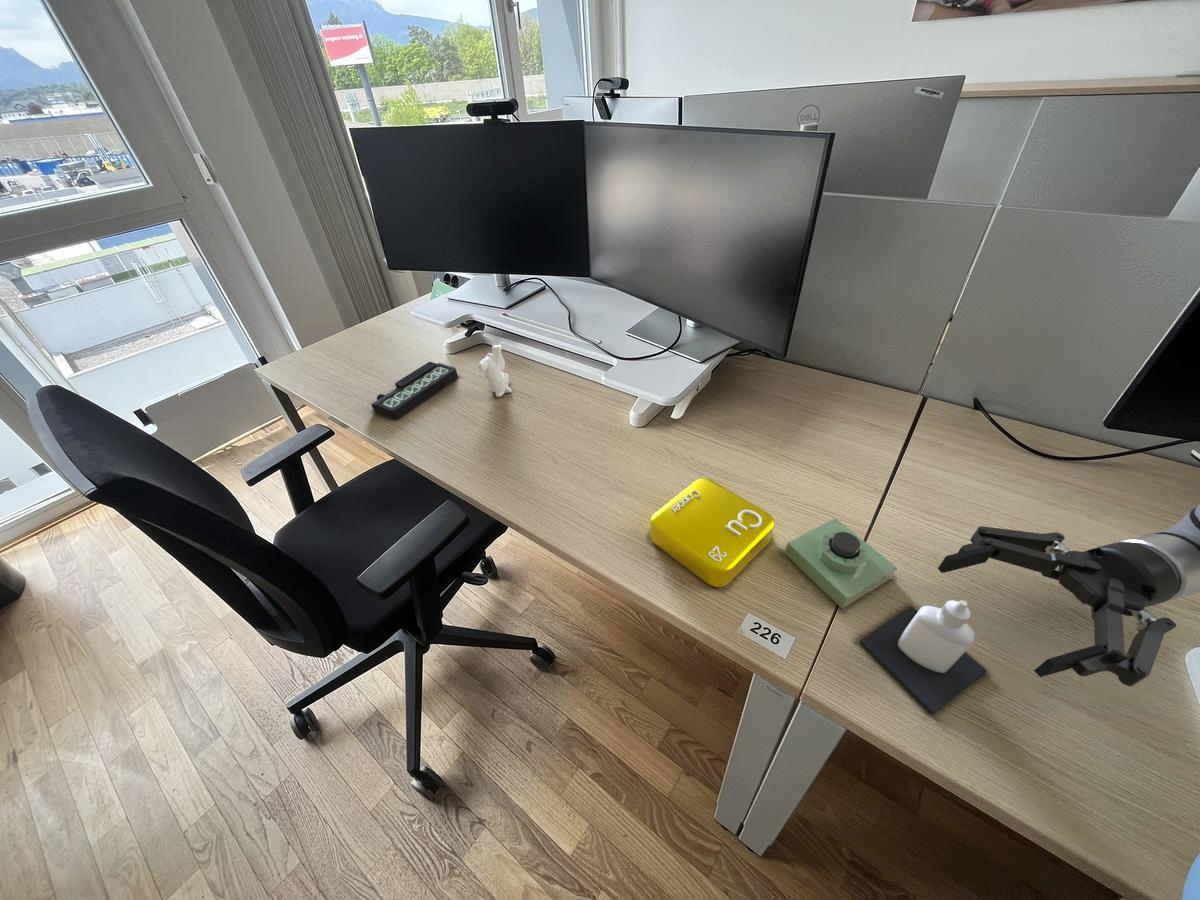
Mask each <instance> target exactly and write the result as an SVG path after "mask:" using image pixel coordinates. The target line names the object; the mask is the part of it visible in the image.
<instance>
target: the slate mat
mask: <svg viewBox="0 0 1200 900" xmlns="http://www.w3.org/2000/svg"><path fill="white" fill-rule="evenodd" d="M917 612H918V610H917V609H915V608H914V607H913V606H910V607H909V608H907V609H906V610H904V611H903V612H901V613H900V614H898V615H896V616H894V618H892V619H890V620H889V621H888V622H886V623H884V624H883V625H881V626H880V627H879V628H877V629H876V630H874V631H872V632H870V633H869V634H868V635H866V636H865V637H863V638H862V639H860V640H859V644H860V645H861V646H862V647H863V648H864V649H865V650H866V651H867V652H868V653H869V654H870V655H871V656H872V657H873V658H874V659H875V660H876V661H877V662H878V663H879V664H880V665H881V666H882V667H883V668H884V669H885V670H886V671H887V672H888V673H889V674H890V675H891V676H892V677H893V678H894V679H895V680H896V681H897V682H898V683H899V684H900V685H901V686H902V687H903V688H905V690H906V691H907V692H908V693H909V694H910V695H911V696H912V697H914V699H916V701H917V702H918V703H920V705H921V706H922V707H924V708H925V709H926V711H928V712H929V713H930V715H933V714H935V712H937V711H938V710H939V709H940V708H942V707H943V706H944V705H946V704H947V703H948V702H950V701H951V700H952V699H953V698H955V697H956V696H958V694H960V693H961V692H963V691H964V690H965V689H966V688H967V687H969V686H970V685H971V684H972V683H974V682H975V681H976V680H978V679H979V678H980V677H982V676H983V675H984V674H986V673H987V671H988V670H987V669H986V668H985V667H984V666H983V665H981V664H980V663H979V662H978V661H976V660H975V659H974V658H973V657H972V656H971V655H970V654H968V653H967V652H966V651H965V652H964V653H963V654H962V656H961V657H960V658H959V659H958V660H957V661H956V662H955V663H954V664H953V665H952V666H951V667H950V669H949V670H948V671H946V672H945V673H940V672H936V671H933V670H930V669H928V668H925V667H923V666H921V665H920V664H918V663H916V662H915V661H913V660H912V659H911V658H909V657H908V656H907V655H906V654H905V653H904V652H903V651H902V650H901V649H900V648H899V646H898V641H899V639H900V637H901V635H902V633H903V632H904V630H905V629H906V628H907V626H908V625H909V623H910V622H911V620H912V619H913V618H914V616H915V615H916V614H917Z"/></svg>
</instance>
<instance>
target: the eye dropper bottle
mask: <svg viewBox="0 0 1200 900" xmlns="http://www.w3.org/2000/svg"><path fill="white" fill-rule="evenodd" d="M971 615H972V614H971V610H970V609H969V607H968V601H966V600H964V599H960V600H953V599H951V600H948V601H946V602H945V603H944V605H943V606H942V607H937V606H932V605H923V606H922V607H920V608H919V610H917V614H916V615H915V616H914V618H913V619H912V620H911V622H910V623H909V625H908V626H907V628H906V629H905V630H904V632H903V633H902V635H901V637H900V639H899V641H898V646H899V648H900V649H901V650H902V651H903V652H904V653H905V654H906V655H907V656H908V657H909V658H911V659H912V660H913V661H915V662H916V663H918V664H920V665H921V666H923V667H925V668H928V669H930V670H933V671H936V672H940V673H945V672H946V671H948V670H949V669H950V667H951V666H952V665H953V664H954V663H955V662H956V661H957V660H958V659H959V658H960V657H961V656H962V654H963V653H964V652H966V651H967V650H968V649H969V648H970V647H971V645H972V643H973V642H974V639H975V631H974V630H973V629H972V628H971V626H970V625H969V624H967V623H966V622H968V620H969V619H970V618H971Z"/></svg>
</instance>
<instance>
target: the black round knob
mask: <svg viewBox="0 0 1200 900" xmlns="http://www.w3.org/2000/svg"><path fill="white" fill-rule="evenodd" d="M830 548H831V550H832V552H833V553H834V554H835V555H837V556H839V557H841V558H844V559H851V558H854V557H855V556H856V554H857V552H858V550H859V548H860V542H859V540H858V539H857V538H856V537H855V536H854V535H852V534H850V533H847V532H838V533H836V534H835V535H834V536H833V538H832V541H831V543H830Z"/></svg>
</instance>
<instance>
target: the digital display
mask: <svg viewBox="0 0 1200 900" xmlns="http://www.w3.org/2000/svg"><path fill="white" fill-rule="evenodd" d="M457 371H458V370H457V368H456V367H454V366H450V365H447V364H443V363H441V362H437V363H436V362H432V361H428V362H426V363H424V364H423V365H421V366H419V367H417V369H415V370H414V371H412V372H411V373H409V374H407V375H406V376H404V377H402V378H401V379H399V380H397V381H396V382H395V383H394V385H395V388H394V389H393V390H391V391H390V392H388V393H387V394H384V393H379V394H378V395H377V397H376V401H374V402H372V403H371V407H372V411H373V412H374V413H376V414H379V415H382V416H384V417H387V418H389V419H392V420H394V421H397V420H399V419H401V418H402V417H403V416H405V415H406V414H409V412H411V411H412V410H414V409H415V408H416V407H418V406H419V405H421V404H423V402H426V401H427V400H428V399H430V398H431V397H432V396H434V395H435V394H437V393H438V392H440V391H442V389H444V388H445V387H447V386H449V385H450V384H451V383H453V382H454V381H456V380H457V379H459V375H458V372H457Z"/></svg>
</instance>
